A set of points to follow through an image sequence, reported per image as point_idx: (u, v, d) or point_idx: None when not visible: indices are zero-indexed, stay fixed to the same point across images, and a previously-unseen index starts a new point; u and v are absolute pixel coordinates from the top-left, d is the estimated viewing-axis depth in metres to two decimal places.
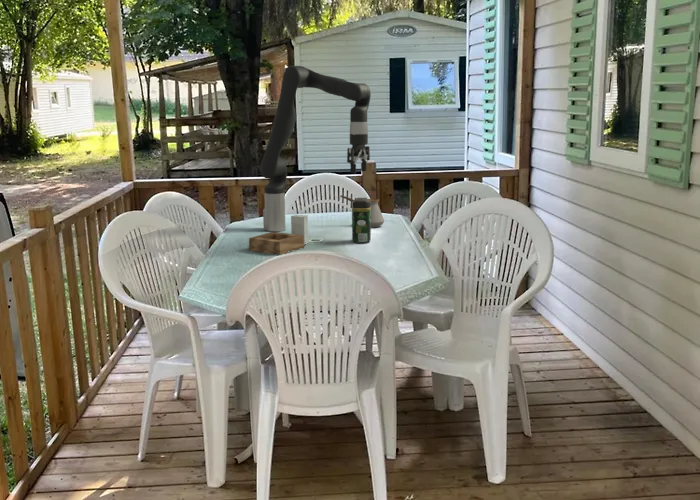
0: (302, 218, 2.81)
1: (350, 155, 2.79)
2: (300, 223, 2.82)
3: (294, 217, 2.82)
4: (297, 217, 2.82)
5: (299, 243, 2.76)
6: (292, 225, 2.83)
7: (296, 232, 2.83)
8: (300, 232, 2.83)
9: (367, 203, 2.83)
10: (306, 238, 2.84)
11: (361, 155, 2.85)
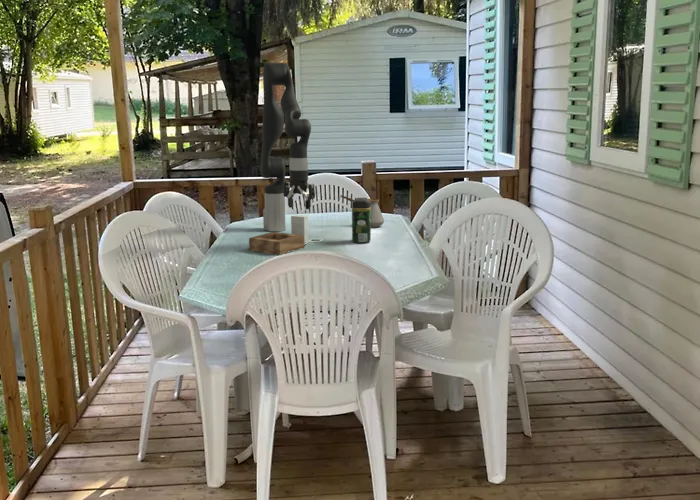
0: (302, 218, 2.81)
1: (313, 191, 2.78)
2: (300, 223, 2.82)
3: (294, 217, 2.82)
4: (297, 217, 2.82)
5: (299, 243, 2.76)
6: (292, 225, 2.83)
7: (296, 232, 2.83)
8: (300, 232, 2.83)
9: (367, 203, 2.83)
10: (306, 238, 2.84)
11: None
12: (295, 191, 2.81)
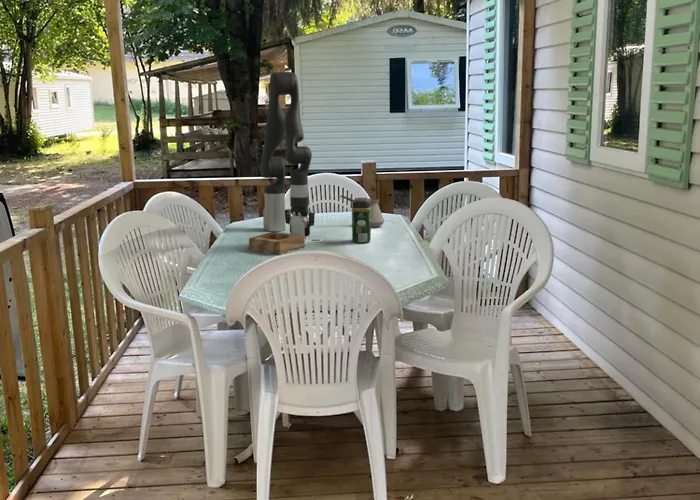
0: None
1: (313, 219, 2.80)
2: (300, 223, 2.82)
3: (294, 217, 2.82)
4: (297, 217, 2.82)
5: (299, 243, 2.76)
6: (292, 225, 2.83)
7: (296, 232, 2.83)
8: (300, 232, 2.83)
9: (367, 203, 2.83)
10: (306, 238, 2.84)
11: None
12: None
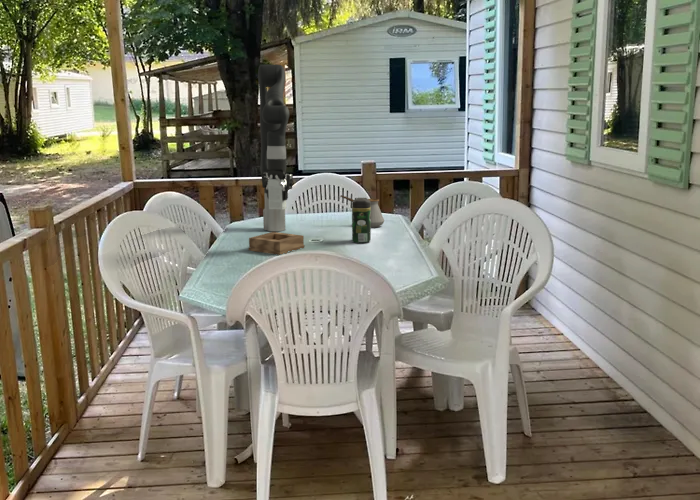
0: None
1: (291, 182, 2.67)
2: (277, 186, 2.69)
3: (271, 180, 2.69)
4: (274, 180, 2.69)
5: (299, 243, 2.76)
6: (269, 189, 2.70)
7: (273, 196, 2.70)
8: (277, 196, 2.70)
9: (367, 203, 2.83)
10: (284, 202, 2.71)
11: None
12: None
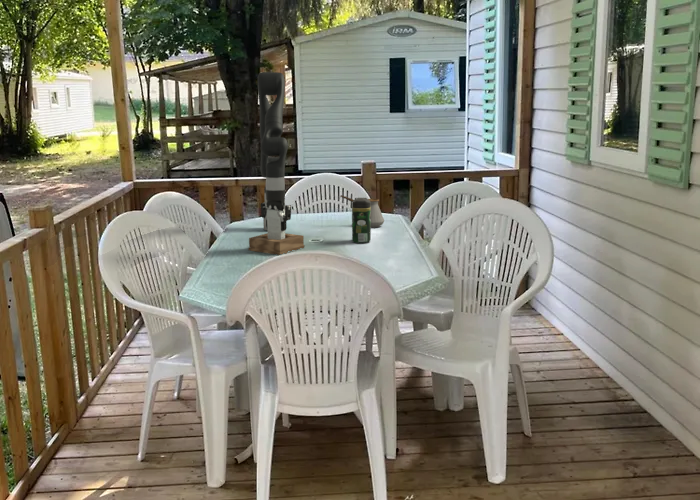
0: None
1: (289, 212, 2.70)
2: (276, 217, 2.71)
3: (270, 211, 2.71)
4: (273, 211, 2.71)
5: (299, 243, 2.76)
6: (268, 219, 2.72)
7: (272, 226, 2.72)
8: (276, 227, 2.72)
9: (367, 203, 2.83)
10: (283, 233, 2.74)
11: None
12: None
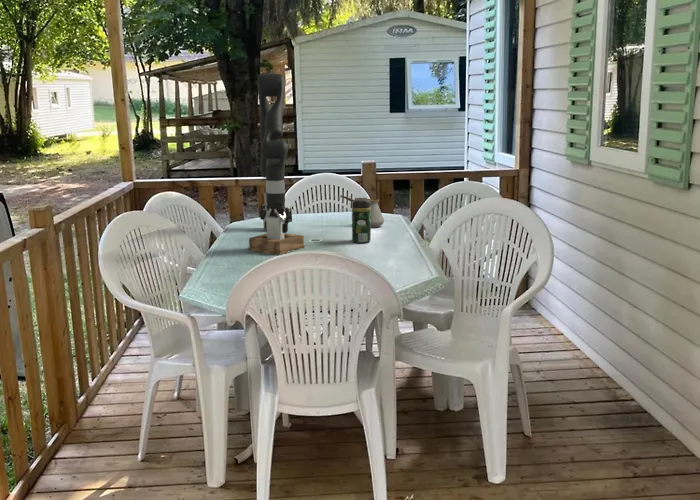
0: (277, 220, 2.71)
1: (290, 214, 2.70)
2: (275, 225, 2.72)
3: (269, 218, 2.73)
4: (272, 218, 2.72)
5: (299, 243, 2.76)
6: (267, 227, 2.74)
7: (271, 234, 2.74)
8: (275, 235, 2.73)
9: (367, 203, 2.83)
10: None
11: None
12: (272, 214, 2.73)
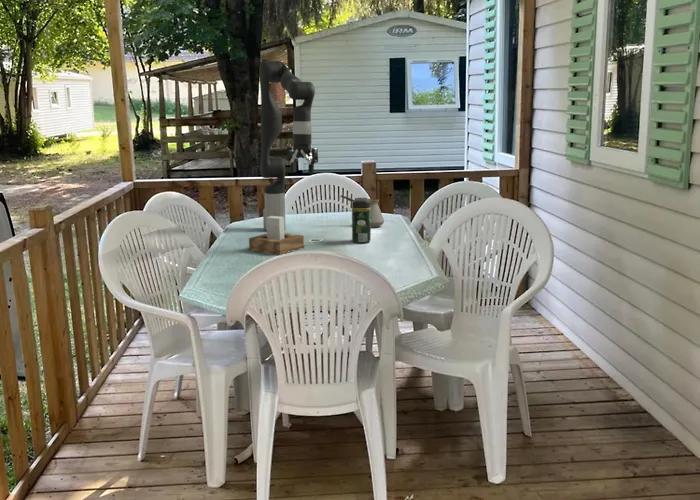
0: (277, 220, 2.71)
1: (316, 155, 2.75)
2: (275, 225, 2.72)
3: (269, 218, 2.73)
4: (272, 218, 2.72)
5: (299, 243, 2.76)
6: (267, 227, 2.74)
7: (271, 234, 2.74)
8: (275, 235, 2.73)
9: (367, 203, 2.83)
10: None
11: None
12: (298, 155, 2.78)
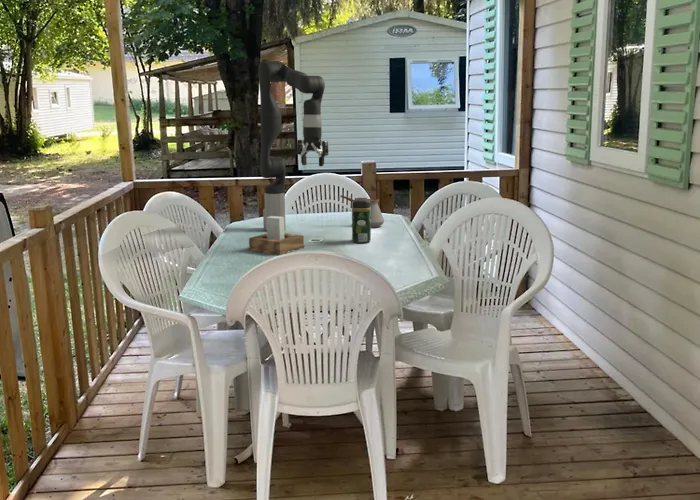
0: (277, 220, 2.71)
1: (326, 148, 2.79)
2: (275, 225, 2.72)
3: (269, 218, 2.73)
4: (272, 218, 2.72)
5: (299, 243, 2.76)
6: (267, 227, 2.74)
7: (271, 234, 2.74)
8: (275, 235, 2.73)
9: (367, 203, 2.83)
10: None
11: None
12: (308, 148, 2.82)
